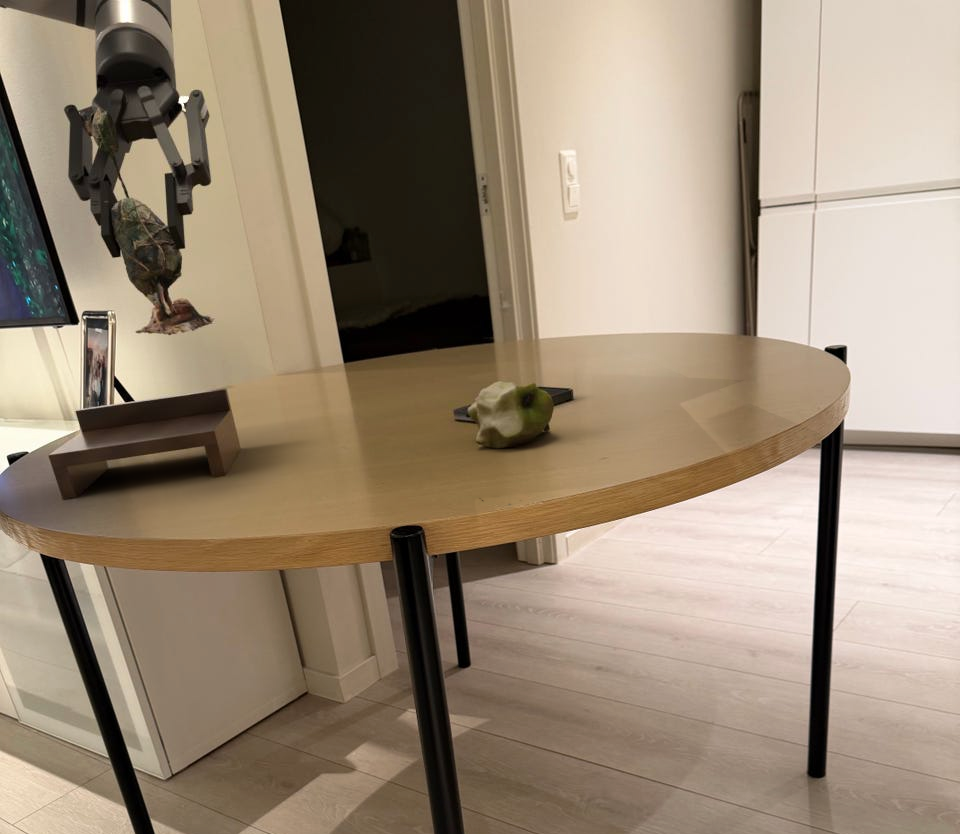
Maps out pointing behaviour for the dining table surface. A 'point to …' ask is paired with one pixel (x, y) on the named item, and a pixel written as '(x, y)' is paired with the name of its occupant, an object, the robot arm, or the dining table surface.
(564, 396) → the phone
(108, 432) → the bench
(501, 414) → the fruit
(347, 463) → the dining table surface
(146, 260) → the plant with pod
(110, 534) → the dining table surface
